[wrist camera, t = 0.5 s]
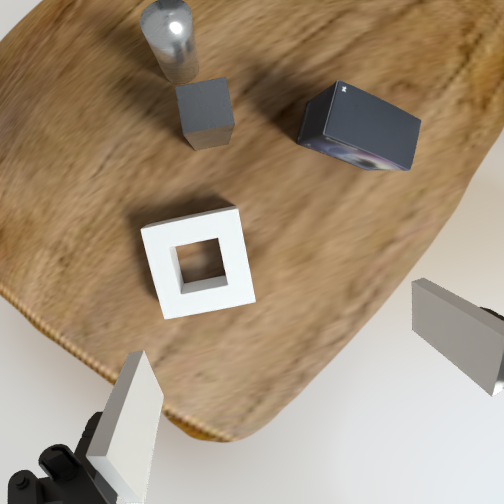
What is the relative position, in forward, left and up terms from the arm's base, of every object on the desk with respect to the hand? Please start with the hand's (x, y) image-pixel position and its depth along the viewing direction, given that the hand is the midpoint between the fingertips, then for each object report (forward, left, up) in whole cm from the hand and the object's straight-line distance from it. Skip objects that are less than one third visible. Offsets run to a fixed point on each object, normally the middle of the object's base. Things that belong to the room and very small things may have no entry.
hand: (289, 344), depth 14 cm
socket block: (+1, -6, -26) cm, 27 cm away
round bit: (-23, -4, -26) cm, 35 cm away
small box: (-11, +14, -26) cm, 32 cm away
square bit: (-14, -2, -26) cm, 30 cm away
